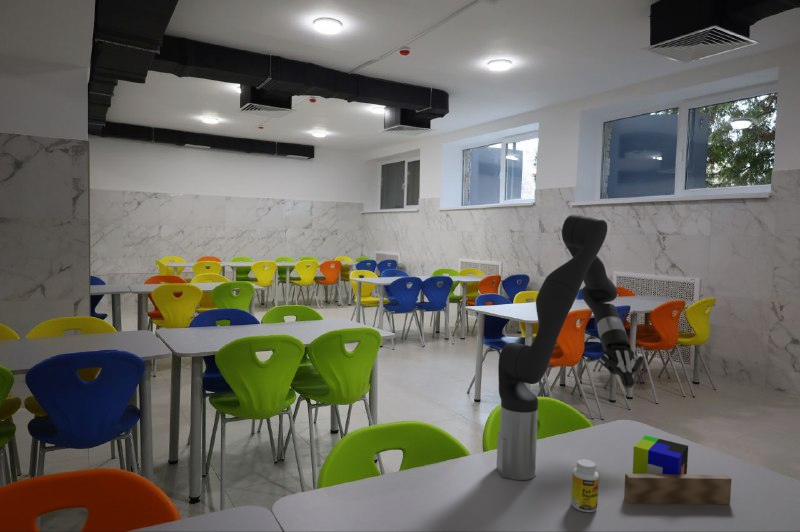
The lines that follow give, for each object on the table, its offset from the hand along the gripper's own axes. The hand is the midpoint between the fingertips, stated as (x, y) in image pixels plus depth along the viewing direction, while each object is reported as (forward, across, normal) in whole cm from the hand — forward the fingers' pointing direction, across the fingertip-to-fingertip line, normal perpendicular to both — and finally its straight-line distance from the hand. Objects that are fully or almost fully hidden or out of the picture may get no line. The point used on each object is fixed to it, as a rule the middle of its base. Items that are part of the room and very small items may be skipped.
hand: (629, 386), depth 146 cm
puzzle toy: (+26, 0, +2) cm, 27 cm away
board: (+32, 0, -4) cm, 32 cm away
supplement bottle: (+34, -23, -6) cm, 42 cm away
